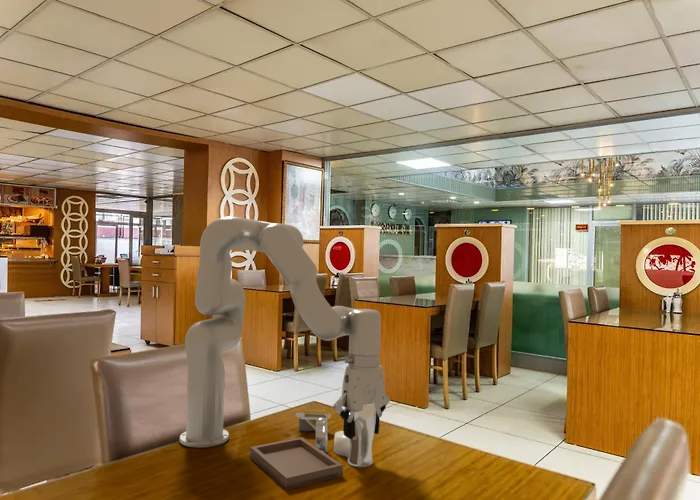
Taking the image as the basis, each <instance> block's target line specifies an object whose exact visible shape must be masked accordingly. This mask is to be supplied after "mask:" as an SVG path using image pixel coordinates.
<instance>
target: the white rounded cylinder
mask: <svg viewBox="0 0 700 500" xmlns="http://www.w3.org/2000/svg"><path fill="white" fill-rule="evenodd" d="M333 443H334V444H333V452H334V453H335V454H336V455H338V456H341V457H347V458H348V456H349V451H350V441H349V438H347V437H346V436H344V432H343V430H339V431H336V432H335V433H334V440H333Z"/></svg>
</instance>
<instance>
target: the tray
mask: <svg viewBox="0 0 700 500" xmlns="http://www.w3.org/2000/svg"><path fill="white" fill-rule="evenodd" d="M249 458H250V459H251V460H252V461H253V462H255V463H256V464H257V465H258V466H259V467H260V468H261V469H263V471H265V472H266V473H267V474H268V475H269V476H270V477H271V478H272V479H274V480H275V481H276V482H277V483H278V484H279V485H280V486H281V487H282V488H283V489H284V490H285V491H288V490H292V489H297V488H301V487H304V486H308V485H312V484H316V483H320V482H324V481H329V480H333V479H336V478H340V477H343V472H344V470H343V469H344V465H343V464H342V463H341V462H339V461H338V460H336V459H335V458H333V457H331V456H330V455H329V454H327V452H326V453H324V452H323V451H321V450H320V449H318V448H317V447H315V444H314V445H313V444H312V443H311V442H309V441H308V440H306V438H303V437H296V438H291V439H286V440H285V439H284V440H281V441H276V442H271V443H264V444H260V445H254V446H251V447H250V455H249Z"/></svg>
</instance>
